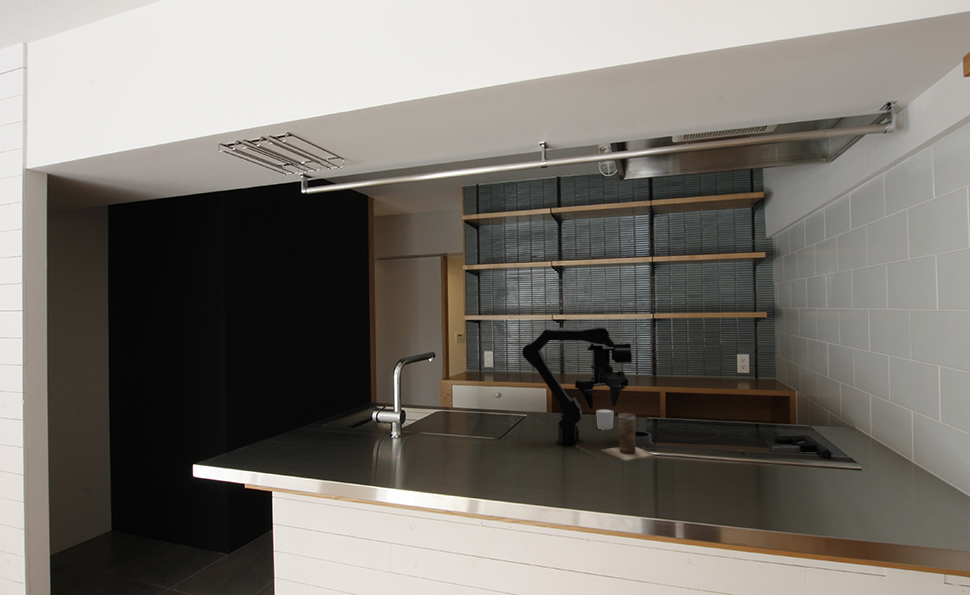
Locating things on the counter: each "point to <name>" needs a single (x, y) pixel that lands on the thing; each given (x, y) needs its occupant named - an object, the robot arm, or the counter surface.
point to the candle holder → (643, 439)
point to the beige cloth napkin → (627, 457)
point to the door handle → (801, 445)
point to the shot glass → (605, 419)
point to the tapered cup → (627, 433)
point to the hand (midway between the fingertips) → (602, 407)
